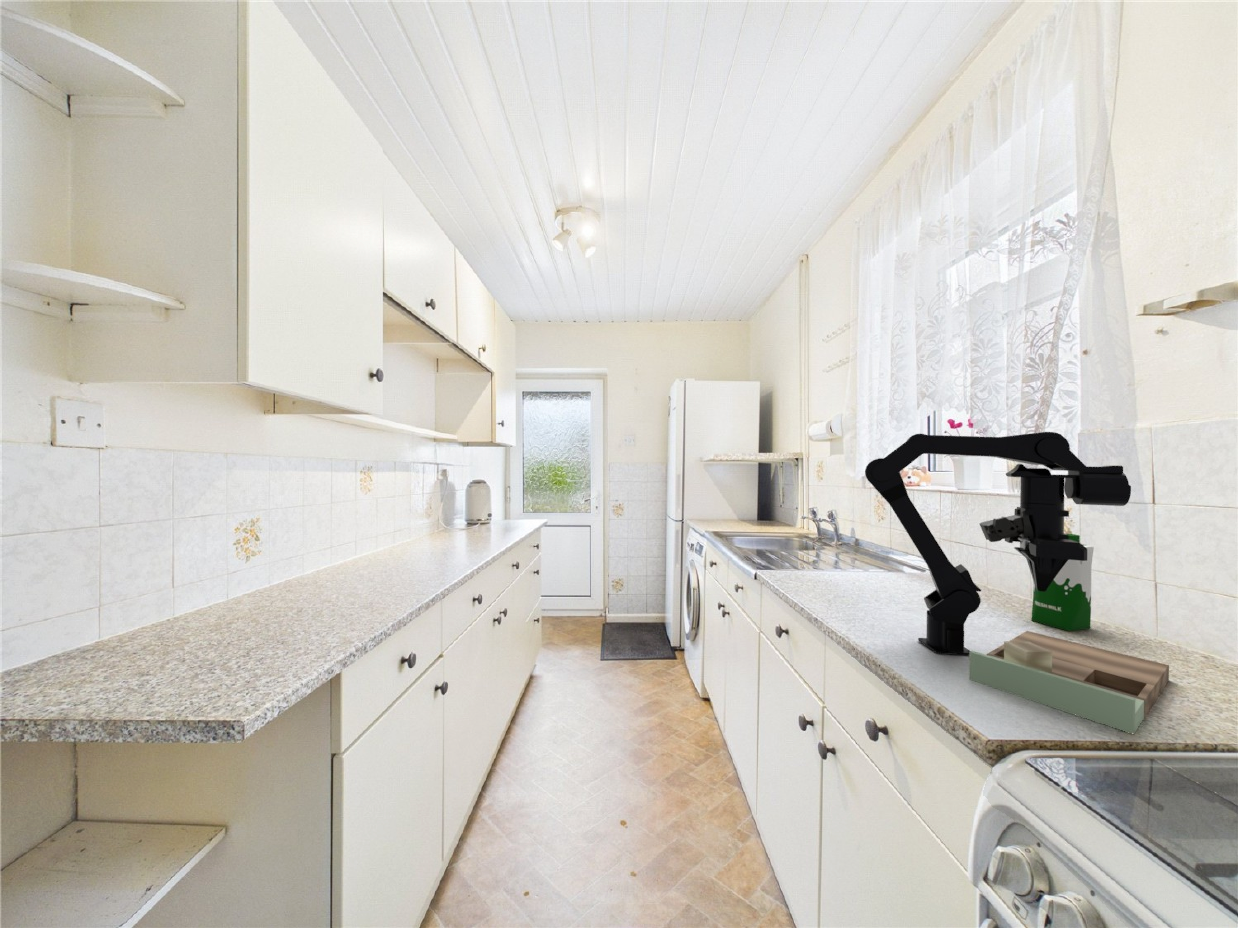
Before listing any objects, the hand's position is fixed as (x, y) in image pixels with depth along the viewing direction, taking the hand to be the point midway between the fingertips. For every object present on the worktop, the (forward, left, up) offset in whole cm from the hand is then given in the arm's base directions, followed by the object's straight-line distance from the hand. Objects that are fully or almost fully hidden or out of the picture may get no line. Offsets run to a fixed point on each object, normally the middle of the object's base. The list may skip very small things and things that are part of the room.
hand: (1040, 590), depth 80 cm
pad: (+12, -8, -13) cm, 20 cm away
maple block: (+10, -9, -10) cm, 17 cm away
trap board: (+4, +3, -13) cm, 14 cm away
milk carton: (-23, +21, -13) cm, 34 cm away
